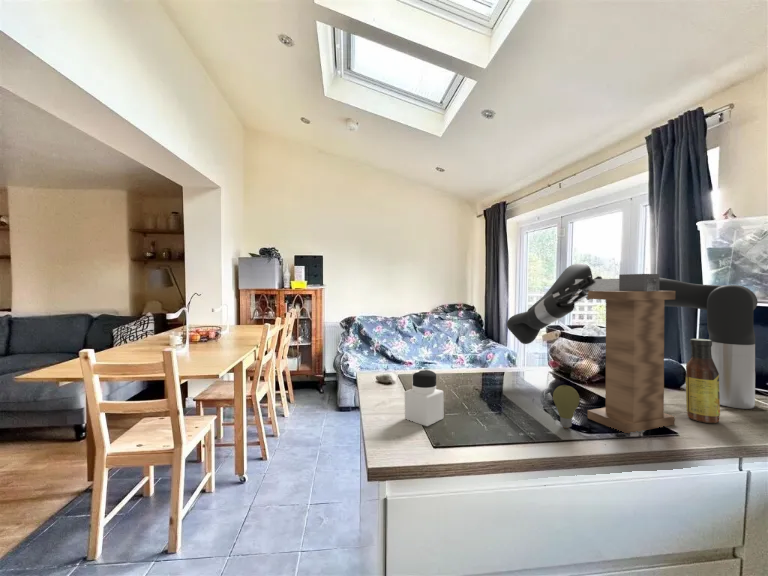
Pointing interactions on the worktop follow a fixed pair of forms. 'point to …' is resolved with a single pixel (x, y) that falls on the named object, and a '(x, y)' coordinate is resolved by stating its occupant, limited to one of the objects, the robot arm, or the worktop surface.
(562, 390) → the light bulb
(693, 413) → the sauce bottle
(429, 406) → the medicine bottle
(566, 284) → the robot arm
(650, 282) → the grey metal bar
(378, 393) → the worktop surface
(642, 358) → the stand
